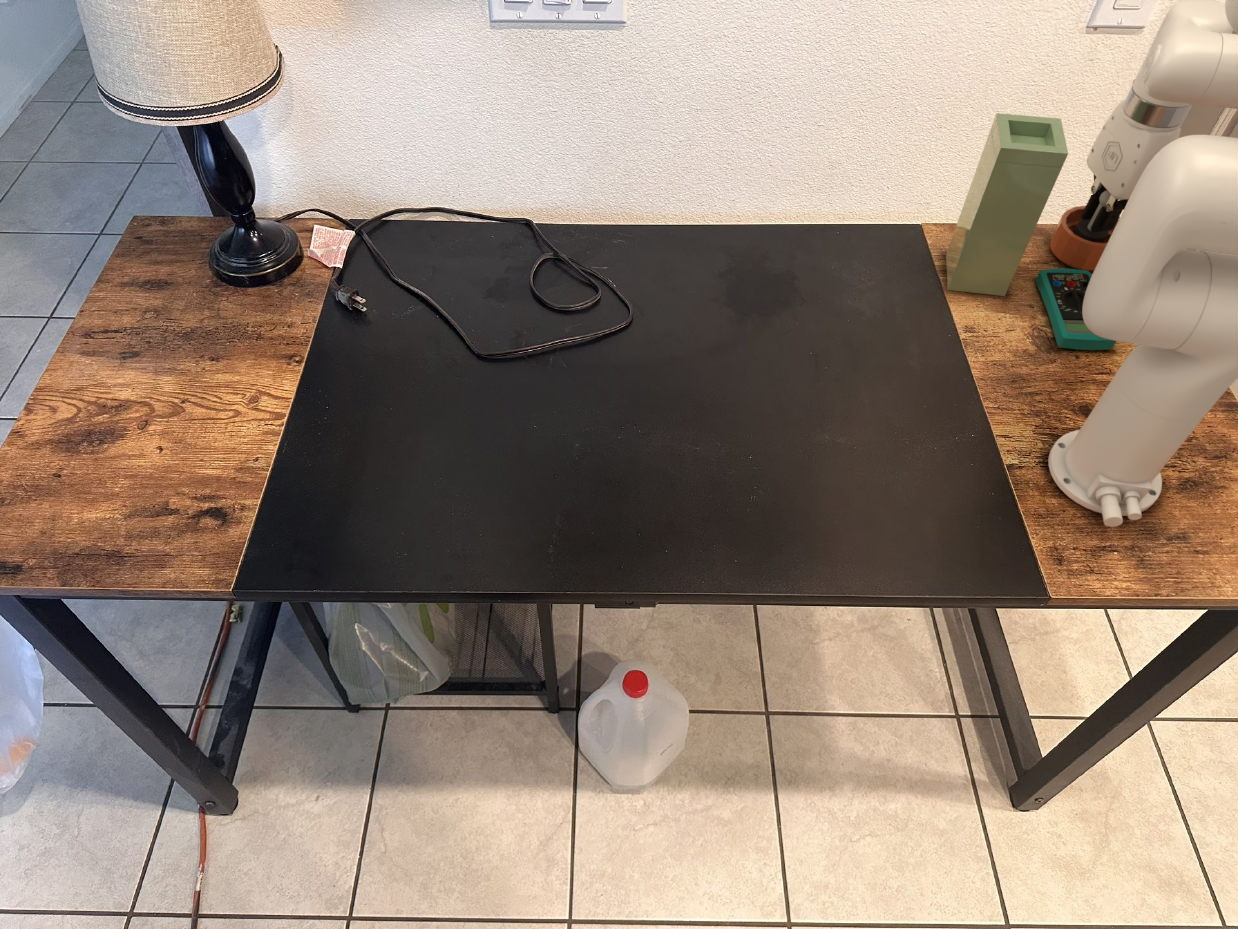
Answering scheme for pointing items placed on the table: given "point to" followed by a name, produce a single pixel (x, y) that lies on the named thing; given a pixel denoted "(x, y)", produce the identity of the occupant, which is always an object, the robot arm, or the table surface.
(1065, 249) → the basin bowl
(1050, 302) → the digital multimeter
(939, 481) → the table surface
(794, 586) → the table surface
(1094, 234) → the stopper
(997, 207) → the green tall hollow block
